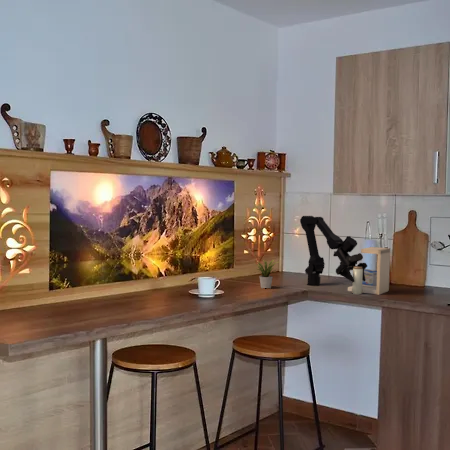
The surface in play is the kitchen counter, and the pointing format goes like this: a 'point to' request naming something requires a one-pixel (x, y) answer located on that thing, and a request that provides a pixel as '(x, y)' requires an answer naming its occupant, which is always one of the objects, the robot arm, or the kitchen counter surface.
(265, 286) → the house plant
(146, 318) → the kitchen counter surface
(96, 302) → the kitchen counter surface
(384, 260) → the light wood frame
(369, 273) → the medicine box
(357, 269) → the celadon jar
